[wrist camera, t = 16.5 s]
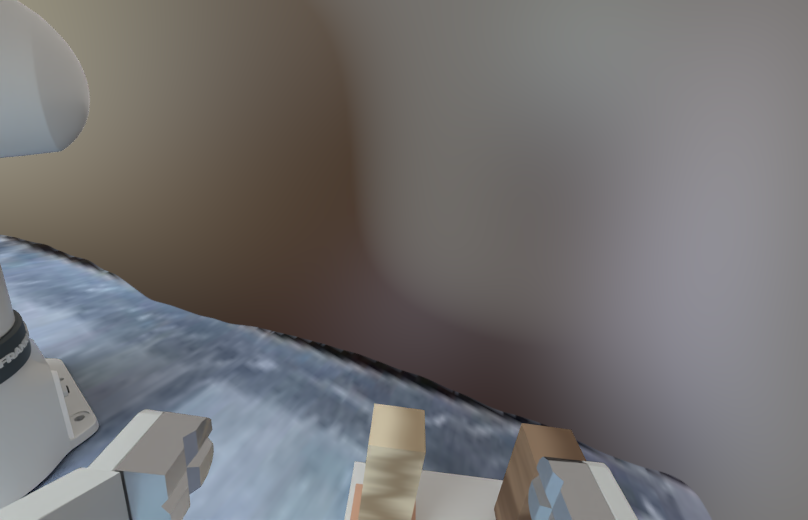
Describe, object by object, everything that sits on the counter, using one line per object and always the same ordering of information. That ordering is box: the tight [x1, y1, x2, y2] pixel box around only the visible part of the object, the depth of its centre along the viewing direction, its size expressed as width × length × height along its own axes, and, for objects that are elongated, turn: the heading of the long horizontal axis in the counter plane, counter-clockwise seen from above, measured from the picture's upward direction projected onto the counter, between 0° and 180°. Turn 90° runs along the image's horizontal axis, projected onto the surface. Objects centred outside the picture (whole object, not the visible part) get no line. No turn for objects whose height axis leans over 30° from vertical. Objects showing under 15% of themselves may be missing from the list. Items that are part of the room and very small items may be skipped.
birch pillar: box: [358, 404, 426, 520], centre depth 32 cm, size 4×4×11 cm
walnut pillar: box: [494, 423, 586, 520], centre depth 33 cm, size 4×4×11 cm
